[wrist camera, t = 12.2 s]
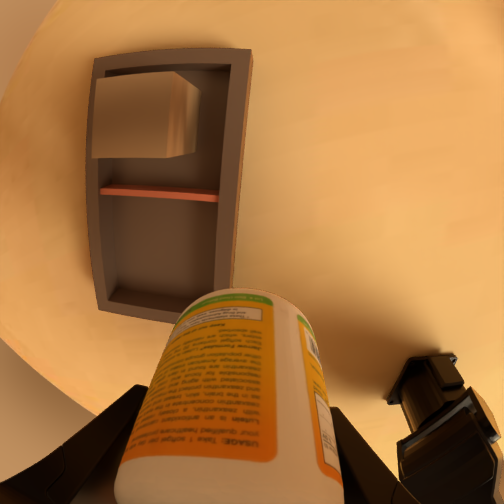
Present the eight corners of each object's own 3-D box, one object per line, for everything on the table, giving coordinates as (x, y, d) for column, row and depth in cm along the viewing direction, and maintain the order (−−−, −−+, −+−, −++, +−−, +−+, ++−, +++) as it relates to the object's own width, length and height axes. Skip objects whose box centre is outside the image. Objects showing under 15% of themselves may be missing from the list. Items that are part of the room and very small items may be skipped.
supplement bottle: (155, 354, 11) (74, 570, 2) (216, 254, 10) (102, 612, 1) (263, 404, 12) (256, 606, 3) (343, 327, 11) (411, 593, 2)
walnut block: (196, 152, 18) (166, 158, 12) (139, 150, 18) (91, 158, 12) (201, 91, 16) (173, 71, 11) (143, 93, 16) (96, 79, 11)
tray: (230, 311, 23) (226, 331, 20) (112, 293, 23) (98, 309, 20) (253, 60, 16) (251, 49, 14) (112, 65, 16) (94, 58, 14)
